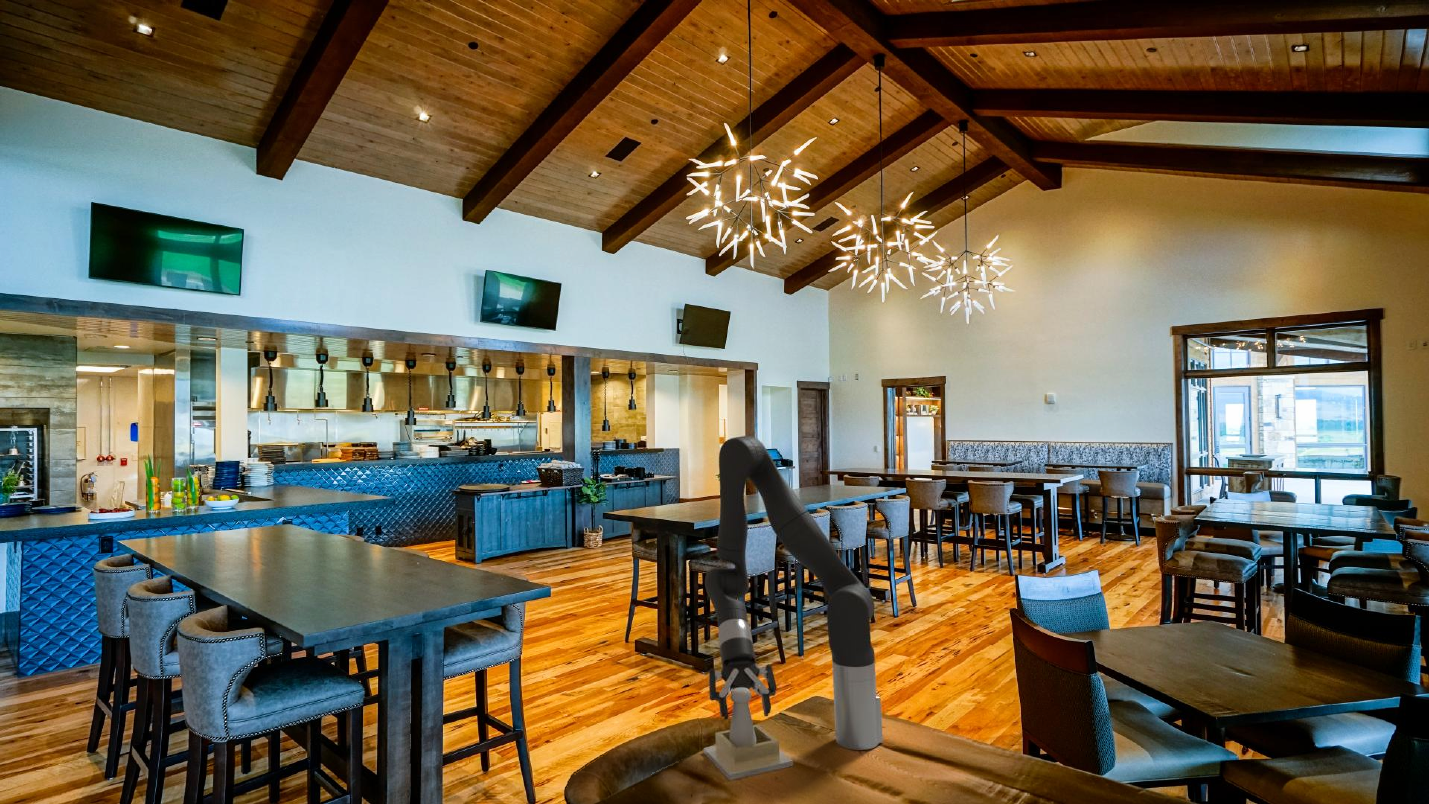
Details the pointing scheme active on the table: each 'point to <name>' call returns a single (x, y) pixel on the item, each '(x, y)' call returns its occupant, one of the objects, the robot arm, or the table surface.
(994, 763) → the table surface
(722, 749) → the beige square open box
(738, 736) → the salt shaker
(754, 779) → the table surface
